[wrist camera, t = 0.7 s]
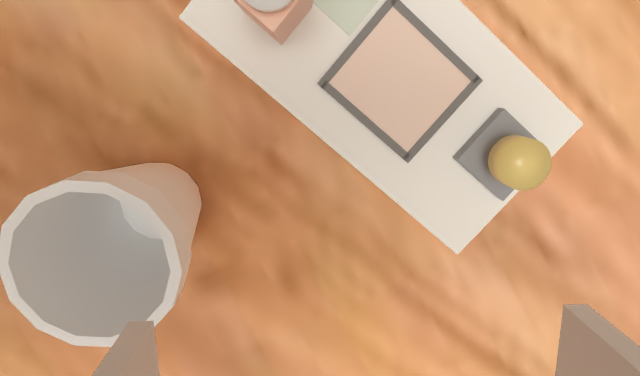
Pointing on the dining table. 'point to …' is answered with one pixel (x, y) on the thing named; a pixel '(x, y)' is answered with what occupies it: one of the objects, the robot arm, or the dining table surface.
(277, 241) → the dining table surface
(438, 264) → the dining table surface
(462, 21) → the white flat panel
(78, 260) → the foam cup
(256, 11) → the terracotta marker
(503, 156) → the button
